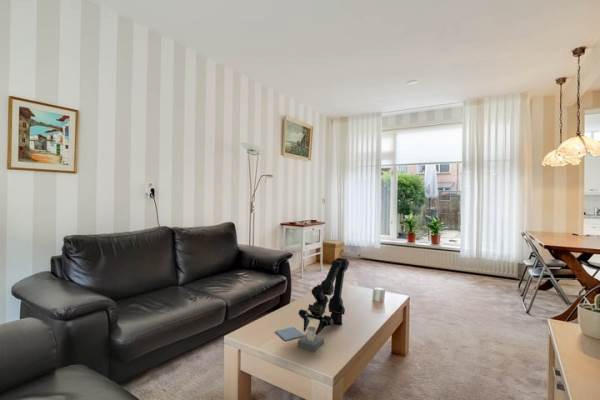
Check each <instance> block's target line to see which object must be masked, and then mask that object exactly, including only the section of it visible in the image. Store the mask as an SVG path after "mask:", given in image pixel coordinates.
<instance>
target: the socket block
mask: <svg viewBox="0 0 600 400" xmlns="http://www.w3.org/2000/svg"><path fill="white" fill-rule="evenodd" d="M324 344H325V338H324V337H322V336H321V337H320V336H318V335H315V341H314V342H310V341H307V333H305V334H304V336H303V337H300V338H298V340H297V347H298V348H301V349H305V350H307V351H309V352H313V353H316V352H317V351H318V350H319V349H320V348H321V347H322V346H323V345H324Z"/></svg>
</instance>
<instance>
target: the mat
mask: <svg viewBox="0 0 600 400" xmlns="http://www.w3.org/2000/svg"><path fill="white" fill-rule="evenodd" d="M274 333H276V335H278V336H279V337H280V338H281V339H283V340H284V341H285V342H287V341H291V340H295V339H301V338H302V337H303V336H304V335H305V334H304V333H303V332H301V331H300V330H299V329H297V328H296V327H295V326H291V327H287V328H282V329H278V330H275V331H274Z"/></svg>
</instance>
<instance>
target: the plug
mask: <svg viewBox="0 0 600 400" xmlns="http://www.w3.org/2000/svg"><path fill="white" fill-rule="evenodd" d="M306 331H307V332H306V334H307V341H310V342H314V341H315V336H316V335H315V334H316V327H314V326H312V325H310V326H307V329H306Z"/></svg>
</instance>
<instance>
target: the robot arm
mask: <svg viewBox="0 0 600 400" xmlns="http://www.w3.org/2000/svg"><path fill="white" fill-rule="evenodd" d="M349 265H350V260H348V259H347V258H342V257H336V258H333V259H332V261H331V265H330V268H329V269H328V273H327V275H326V278H325V279H324V280H322V281H321V283H320V284H317V285H315V286H314V287H313V288H312V289H311V294H312V296H313V298H314V299H315V300H316V301H315V302H316V303H315V304H314V303H313V304H310V303H308V308H307V309H306V310H305V309H302V308H300V309H299V310H298V313H297V314H298V315H299V317H300V318H301V319H302V320H303V332H306V331H307V328H308V327H309V325H310V322H311V321H310V319H313V320H316V321H319V323H318V325H317V328H316V330H315V336H318V335H319V333H321V331H323V329H325V328H326V327H327V328H328V326H329V327H333V325H341V326H342V325H343V315H345V312H346V308H345V306H344V301H343V298H342V292H343V284H344V277H345V273H346V272H347V270H348V268H349ZM330 296H331V297H330ZM328 297H330V298H328ZM327 303H328V306H327ZM325 307H326V308H328V313H330V315H325V314H324V313H326V312H325V311H326V309H325Z"/></svg>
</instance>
